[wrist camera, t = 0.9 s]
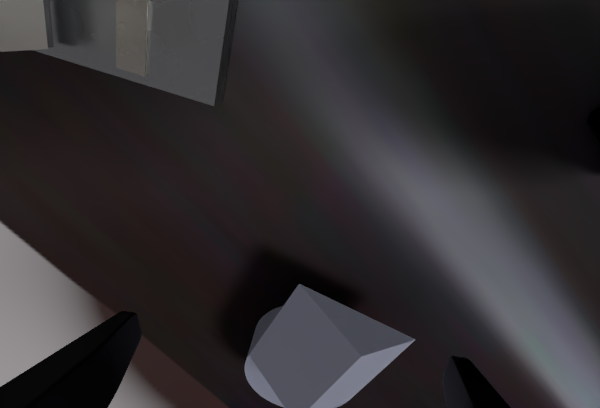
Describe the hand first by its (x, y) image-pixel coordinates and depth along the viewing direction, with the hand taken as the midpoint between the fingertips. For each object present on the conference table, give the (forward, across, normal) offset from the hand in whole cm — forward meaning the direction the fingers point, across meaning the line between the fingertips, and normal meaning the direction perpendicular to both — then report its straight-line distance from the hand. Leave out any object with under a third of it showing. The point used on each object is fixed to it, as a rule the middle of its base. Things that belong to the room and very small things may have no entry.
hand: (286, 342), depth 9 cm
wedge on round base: (+13, -1, +14) cm, 20 cm away
